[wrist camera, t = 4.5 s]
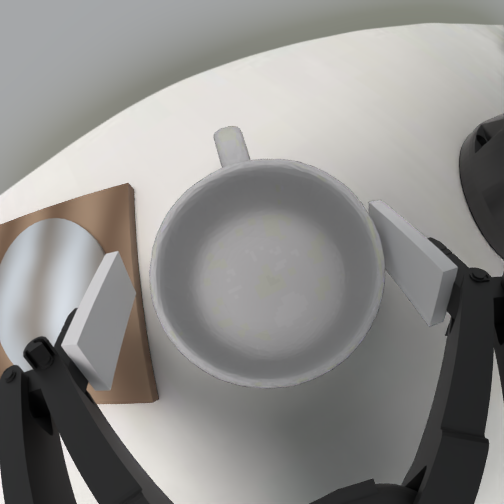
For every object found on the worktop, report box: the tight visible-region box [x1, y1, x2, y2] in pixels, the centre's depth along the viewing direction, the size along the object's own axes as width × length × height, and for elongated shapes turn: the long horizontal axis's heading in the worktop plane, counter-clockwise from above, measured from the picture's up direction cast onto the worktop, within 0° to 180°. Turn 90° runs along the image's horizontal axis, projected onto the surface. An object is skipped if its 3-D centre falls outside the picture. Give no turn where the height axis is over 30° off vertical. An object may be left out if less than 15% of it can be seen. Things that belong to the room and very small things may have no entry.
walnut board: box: [0, 183, 159, 404], centre depth 20 cm, size 16×16×2 cm
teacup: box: [149, 126, 385, 388], centre depth 18 cm, size 14×11×8 cm
